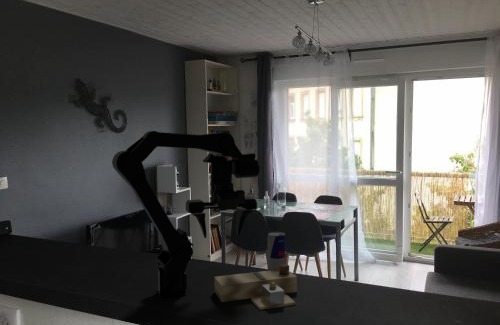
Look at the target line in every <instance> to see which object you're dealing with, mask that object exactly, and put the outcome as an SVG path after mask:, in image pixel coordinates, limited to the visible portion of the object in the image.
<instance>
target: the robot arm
mask: <svg viewBox="0 0 500 325" xmlns="http://www.w3.org/2000/svg"><path fill="white" fill-rule="evenodd" d="M234 138H235V137H233V135H232V134H231V133H230V132H226V131H224V132H213V133H212V132H211V133H204V134H190V133H175V132H173V133H172V132H161V131H157V130H150V131H146V132H144V134H143V135H142V136H141V137H140V138H139V139H138V140H136V141H135V142H133V144H131V145H130V146H128V148H126V149H125V150H120V151H117V152H116V153H115V154H114V156H113V157H112V159H111V165H112V168H113V169H114V171H116V172H117V174H118V175H119V176H120V177H121V178H122V180H123V181H125V183H127V185H128V186H129V187H130V188H131V189H132V190H133V193H134V194H135V196H136V197H137V199H138V200H139V201H138V202H140V204H141V206H142V207H143V209H144V211H145V213H146V215H147V216H148V218H149V219H150V221H151V222H152V225H153V226H154V227H155V229H156V231H157V232H158V235H159V239H160V243H161V247H162V248H163V250H162V251H161V252H160V253H159V254H158V255H157V257H155V262H156V263H157V266H159V267H158V269H157V271H158V272H157V274H158V276H157V277H158V278H157V279H158V284H157V285H158V287H157V293H158V296H159V298H163V299H164V298H168V297H169V298H170V297H177V296H186V295H187V291H186V290H187V281H188V280H187V273H186V269H187V267H188V264H189V262H190V261H191V259H192V258H193V255H194V249H193V247H192V246H194V243H192V242H191V241H190V239H189V237H188V234H187V232H186V231H184V230H183V229H181V228H179V227H178V228H177V229H176V228H175V226H174V225H173V223H172V221H171V220H170V218H169V216H168V215H167V213H166V211H165V209H164V208H163V206H162V204H161V202H160V201H159V198H158V197H157V195H156V194H155V192H154V191H153V189H152V187H151V186H150V183H149V182H148V179H147V174H146V170H145V167H144V165H143V162H144V161H145V160H147V158H148V157H149V156H150V155H151V154H152V153H153V151H154V150H155V149H156V148H158V147H161V148H179V149H196V150H200V151H204V152H208V154H207V156H206V157H205V158H204V159H202V162H203V163H208V164H210V185H209V186H210V200H209V201H203V200H202V199H187V200H186V202H185V211H186V212H187V213H188V214H191V215H192V216H194V217H196V220H197V222H198V224H199V227H200V230H201V233H202V235H203V238H204V239H206V238H207V235H208V234H207V224H206V213H205V212H204V211H205V210H215V209H218V210H220V211H223V212H225V211H228V210H232V211H236V219H235V220H236V222H235V224H236V225H235V227H236V228H235V230H236V235H237V236H240V234H241V231H242V228H243V225H244V222H245V220H246V218H247V217H248V215H249V214H251V213H253V210H254V211H255V210H257V209H258V201H257V199H256V198H254V197H250V196H246V192H245V190H244V189H240V190H239V189H237V190H235V189H234V183H233V176H234V178H236V179H246V178H248V179H250V178H257V177H258V175H259V174H260V165H259V161H258V159H257V158H256V153H255V152H254V153H253V152H251V153H249V152H248V153H242V152H241V150H240V149H239V148H238V146H237V145H236V142H235V139H234ZM215 154H219V156H218V155H217V156H216V155H215ZM227 158H231V159H227Z"/></svg>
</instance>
